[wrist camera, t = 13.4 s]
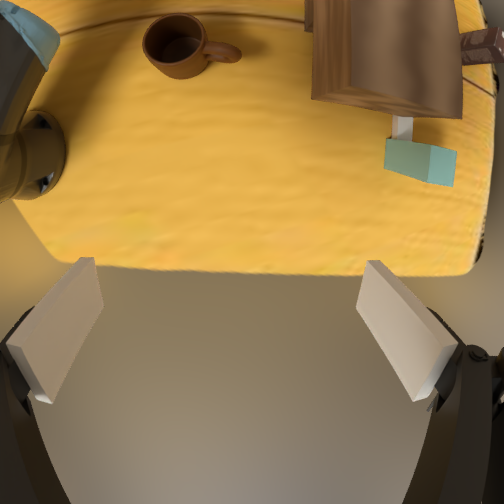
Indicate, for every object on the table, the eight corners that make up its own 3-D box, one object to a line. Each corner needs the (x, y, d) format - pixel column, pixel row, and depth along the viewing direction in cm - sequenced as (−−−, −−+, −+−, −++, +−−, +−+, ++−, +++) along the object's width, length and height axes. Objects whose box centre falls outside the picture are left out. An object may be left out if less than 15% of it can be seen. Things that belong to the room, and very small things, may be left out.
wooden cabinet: (301, 102, 38) (350, 85, 21) (304, 0, 30) (345, -57, 14) (392, 118, 39) (469, 122, 22) (392, 23, 32) (459, -7, 15)
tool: (383, 168, 42) (427, 182, 31) (387, 63, 35) (431, 51, 24) (407, 171, 43) (452, 187, 32) (412, 71, 35) (457, 63, 24)
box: (464, 67, 34) (507, 63, 23) (449, 51, 33) (493, 43, 22) (471, 49, 33) (512, 43, 21) (457, 33, 31) (498, 24, 20)
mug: (247, 46, 34) (252, 25, 25) (231, 92, 36) (232, 80, 28) (168, 31, 31) (153, 8, 23) (152, 76, 34) (132, 63, 26)
